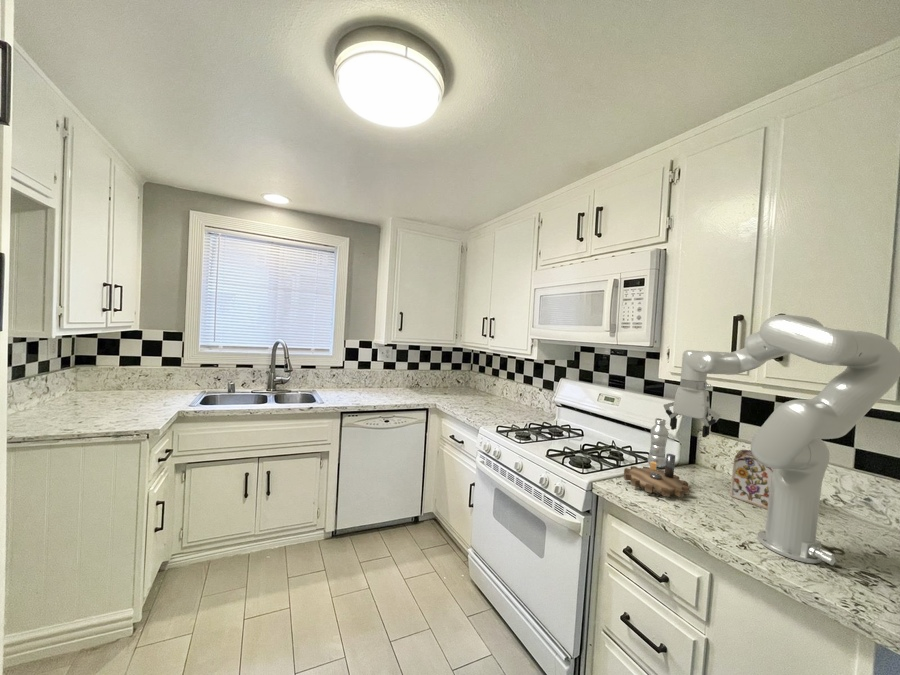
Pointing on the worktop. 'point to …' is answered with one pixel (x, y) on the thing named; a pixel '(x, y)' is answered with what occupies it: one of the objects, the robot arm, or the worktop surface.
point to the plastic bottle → (658, 443)
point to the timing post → (653, 465)
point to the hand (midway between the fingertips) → (688, 432)
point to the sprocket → (658, 479)
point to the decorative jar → (750, 480)
